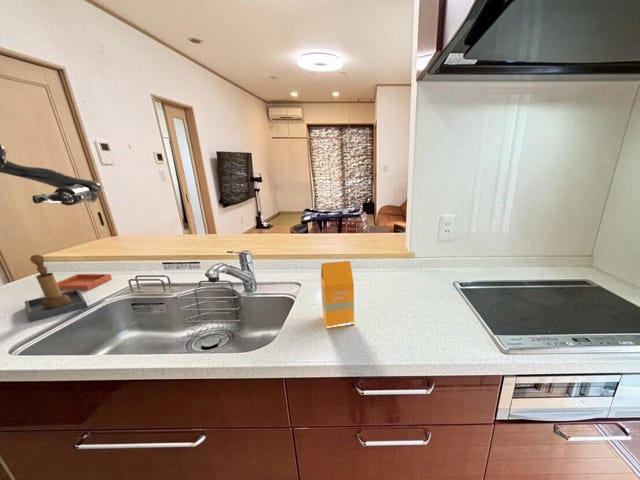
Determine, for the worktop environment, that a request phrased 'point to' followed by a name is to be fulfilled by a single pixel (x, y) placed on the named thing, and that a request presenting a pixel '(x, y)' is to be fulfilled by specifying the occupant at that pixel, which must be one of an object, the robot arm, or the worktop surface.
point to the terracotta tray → (83, 281)
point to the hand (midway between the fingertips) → (49, 200)
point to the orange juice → (337, 293)
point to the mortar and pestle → (49, 286)
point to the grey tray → (38, 312)
